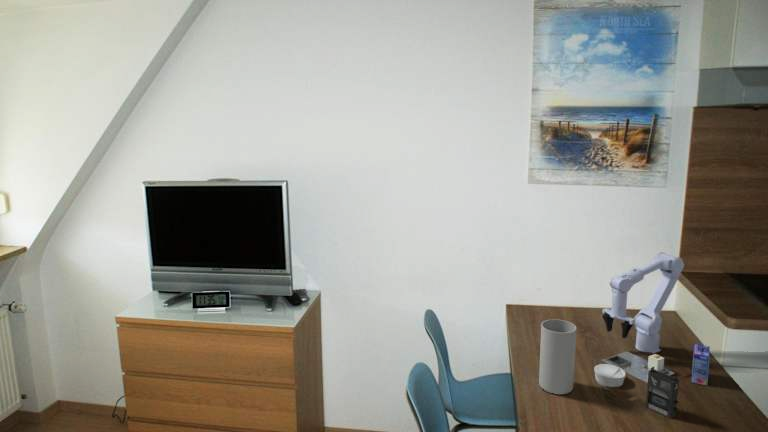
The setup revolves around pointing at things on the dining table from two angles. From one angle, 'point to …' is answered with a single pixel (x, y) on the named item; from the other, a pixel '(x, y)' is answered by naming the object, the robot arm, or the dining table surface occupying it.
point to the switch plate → (633, 365)
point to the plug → (656, 362)
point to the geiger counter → (662, 393)
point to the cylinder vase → (557, 356)
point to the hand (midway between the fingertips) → (616, 334)
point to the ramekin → (609, 375)
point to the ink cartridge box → (700, 364)
